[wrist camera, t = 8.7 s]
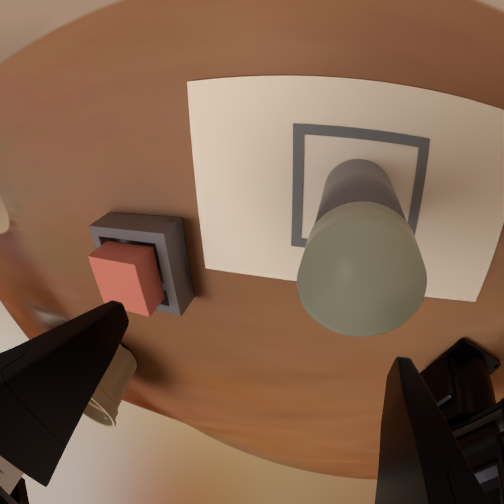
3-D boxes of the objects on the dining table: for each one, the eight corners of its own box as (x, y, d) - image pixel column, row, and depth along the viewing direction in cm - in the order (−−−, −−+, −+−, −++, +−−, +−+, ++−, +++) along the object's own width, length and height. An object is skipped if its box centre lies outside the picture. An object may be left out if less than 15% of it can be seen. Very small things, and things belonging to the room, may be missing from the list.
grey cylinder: (407, 182, 15) (452, 271, 8) (369, 238, 18) (374, 352, 10) (343, 143, 15) (339, 199, 8) (309, 204, 18) (275, 301, 10)
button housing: (181, 217, 21) (163, 233, 19) (194, 296, 25) (180, 316, 23) (108, 212, 23) (88, 225, 21) (127, 282, 27) (112, 299, 24)
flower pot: (114, 319, 30) (68, 374, 23) (163, 377, 34) (129, 433, 27) (77, 327, 35) (38, 371, 28) (120, 377, 38) (89, 421, 31)
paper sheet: (520, 115, 11) (523, 116, 11) (474, 299, 17) (475, 302, 17) (189, 81, 16) (186, 81, 16) (207, 266, 23) (205, 268, 22)
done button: (153, 247, 20) (134, 264, 18) (164, 297, 23) (149, 316, 21) (107, 240, 21) (87, 256, 20) (120, 287, 24) (104, 304, 22)
